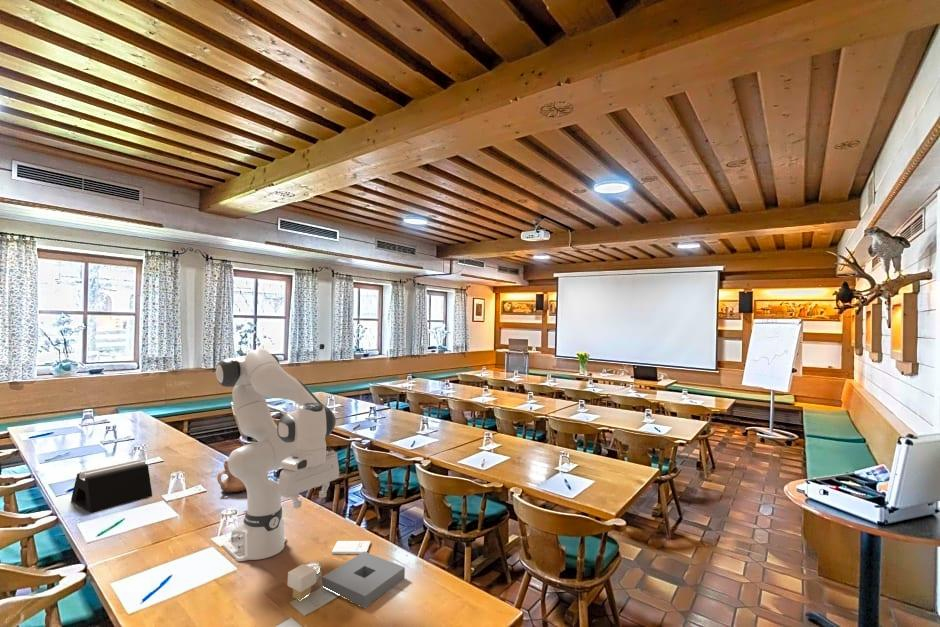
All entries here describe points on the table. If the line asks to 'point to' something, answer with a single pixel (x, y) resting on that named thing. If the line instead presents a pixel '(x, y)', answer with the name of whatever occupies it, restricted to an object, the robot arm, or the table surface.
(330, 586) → the socket
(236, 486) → the ceramic jug
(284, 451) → the robot arm
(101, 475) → the device stand
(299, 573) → the cream white block
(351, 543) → the external hard drive
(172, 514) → the table surface
